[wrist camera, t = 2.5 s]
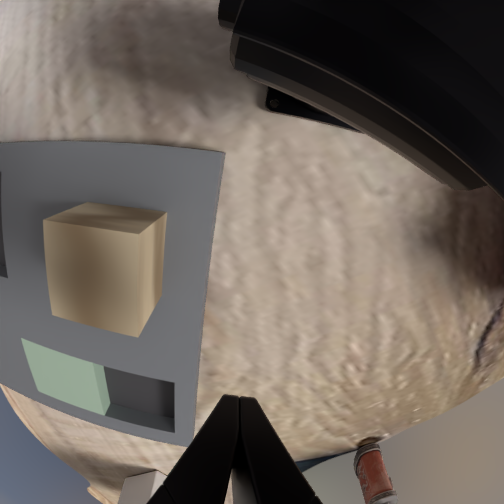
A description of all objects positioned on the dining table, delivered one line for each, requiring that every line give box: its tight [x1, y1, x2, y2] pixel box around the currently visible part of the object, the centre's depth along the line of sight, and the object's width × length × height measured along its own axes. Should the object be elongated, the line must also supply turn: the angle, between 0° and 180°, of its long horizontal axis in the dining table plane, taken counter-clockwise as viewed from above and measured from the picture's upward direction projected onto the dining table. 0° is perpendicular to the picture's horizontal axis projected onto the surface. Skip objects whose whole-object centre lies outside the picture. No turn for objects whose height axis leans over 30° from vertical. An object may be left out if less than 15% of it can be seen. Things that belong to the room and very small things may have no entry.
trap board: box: [0, 141, 225, 447], centre depth 19 cm, size 23×24×2 cm
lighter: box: [354, 443, 398, 504], centre depth 22 cm, size 8×3×10 cm, turn 14°
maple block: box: [43, 202, 167, 337], centre depth 14 cm, size 5×5×4 cm
